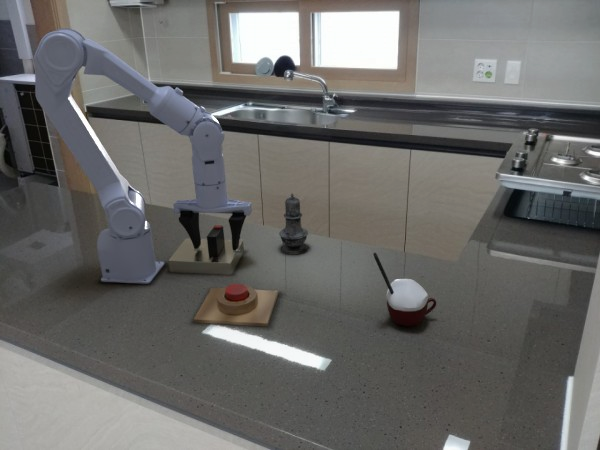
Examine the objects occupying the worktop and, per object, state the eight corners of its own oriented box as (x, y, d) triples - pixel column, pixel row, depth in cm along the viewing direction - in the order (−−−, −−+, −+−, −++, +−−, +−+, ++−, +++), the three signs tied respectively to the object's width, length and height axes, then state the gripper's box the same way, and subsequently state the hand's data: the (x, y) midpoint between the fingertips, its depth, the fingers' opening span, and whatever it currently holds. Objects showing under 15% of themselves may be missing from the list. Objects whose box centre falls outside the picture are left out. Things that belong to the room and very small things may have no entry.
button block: (193, 322, 86) (192, 309, 85) (211, 290, 95) (210, 278, 94) (267, 327, 84) (266, 313, 83) (278, 294, 93) (278, 281, 92)
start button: (223, 302, 87) (222, 294, 86) (229, 291, 90) (228, 282, 90) (245, 303, 87) (244, 295, 86) (250, 292, 90) (249, 283, 89)
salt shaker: (305, 256, 106) (304, 199, 101) (276, 254, 107) (273, 197, 102) (310, 243, 111) (309, 188, 107) (283, 241, 112) (280, 187, 108)
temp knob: (217, 256, 101) (215, 235, 100) (208, 255, 102) (206, 235, 100) (224, 244, 106) (223, 225, 104) (216, 244, 106) (214, 224, 105)
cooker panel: (169, 272, 101) (168, 259, 100) (187, 249, 110) (185, 237, 109) (234, 275, 100) (233, 262, 99) (246, 251, 109) (246, 239, 108)
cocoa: (436, 314, 86) (441, 246, 81) (431, 336, 80) (437, 265, 76) (377, 305, 89) (379, 239, 84) (369, 325, 83) (371, 257, 79)
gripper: (253, 174, 101) (257, 239, 106) (179, 173, 103) (187, 237, 108) (244, 187, 94) (249, 256, 100) (166, 185, 96) (175, 252, 102)
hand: (216, 247), depth 104 cm, fingers open, 7 cm apart
